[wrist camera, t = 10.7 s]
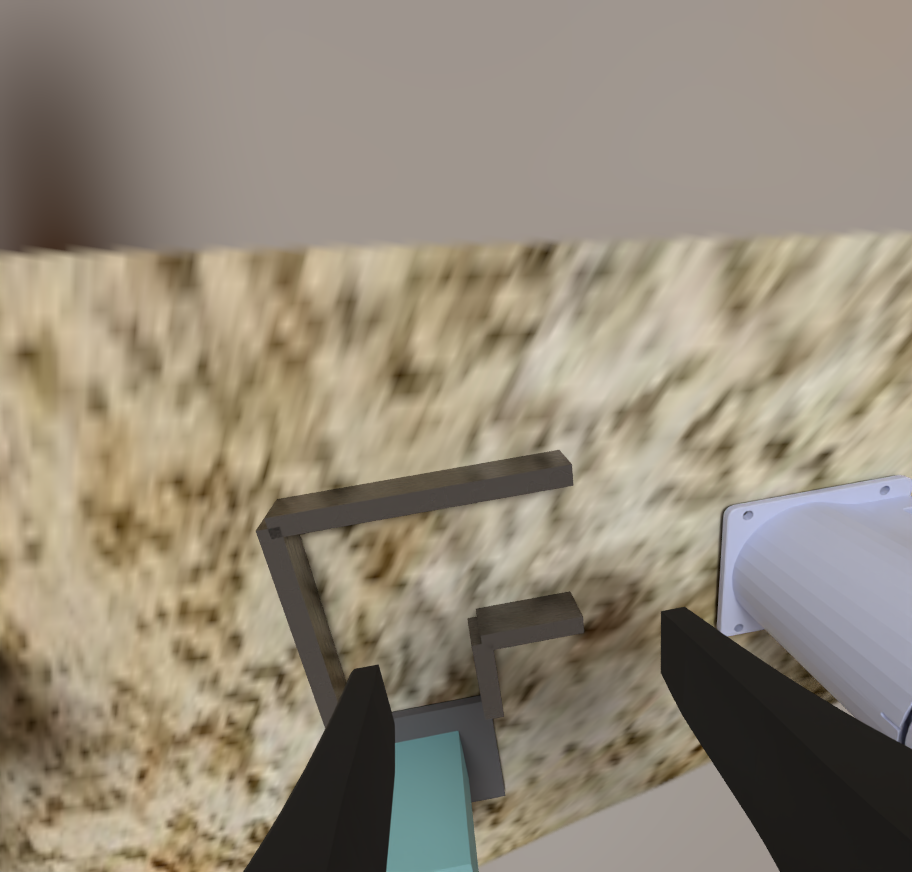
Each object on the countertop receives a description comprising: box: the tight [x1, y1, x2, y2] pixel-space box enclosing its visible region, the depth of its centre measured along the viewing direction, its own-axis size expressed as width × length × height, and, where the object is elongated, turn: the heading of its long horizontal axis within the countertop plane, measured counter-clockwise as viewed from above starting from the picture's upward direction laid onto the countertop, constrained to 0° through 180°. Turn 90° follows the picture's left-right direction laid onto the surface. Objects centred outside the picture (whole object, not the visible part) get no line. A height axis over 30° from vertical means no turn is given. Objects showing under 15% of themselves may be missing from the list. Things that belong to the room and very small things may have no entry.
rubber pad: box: [392, 695, 505, 802], centre depth 25 cm, size 8×8×1 cm
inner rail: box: [468, 591, 584, 720], centre depth 23 cm, size 6×6×2 cm
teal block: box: [386, 731, 479, 872], centre depth 22 cm, size 4×4×6 cm
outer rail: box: [256, 450, 573, 729], centre depth 21 cm, size 14×14×2 cm
